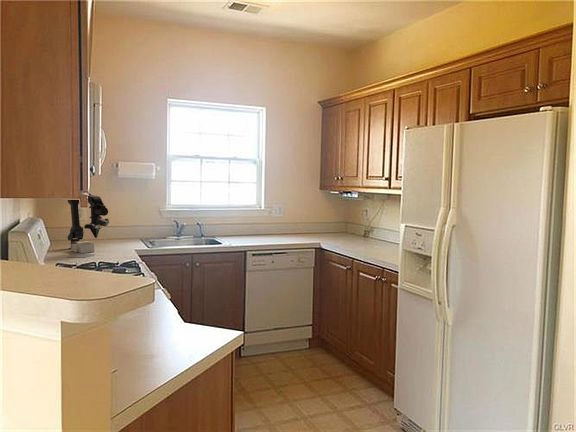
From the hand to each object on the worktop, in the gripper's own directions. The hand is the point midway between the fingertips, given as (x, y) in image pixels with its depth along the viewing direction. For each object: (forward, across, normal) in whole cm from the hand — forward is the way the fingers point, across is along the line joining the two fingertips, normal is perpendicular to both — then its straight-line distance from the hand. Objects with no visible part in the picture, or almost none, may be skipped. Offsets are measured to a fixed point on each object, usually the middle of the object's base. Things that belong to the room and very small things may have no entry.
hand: (95, 237), depth 330 cm
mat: (+10, -18, 0) cm, 20 cm away
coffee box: (+6, -6, +3) cm, 9 cm away
